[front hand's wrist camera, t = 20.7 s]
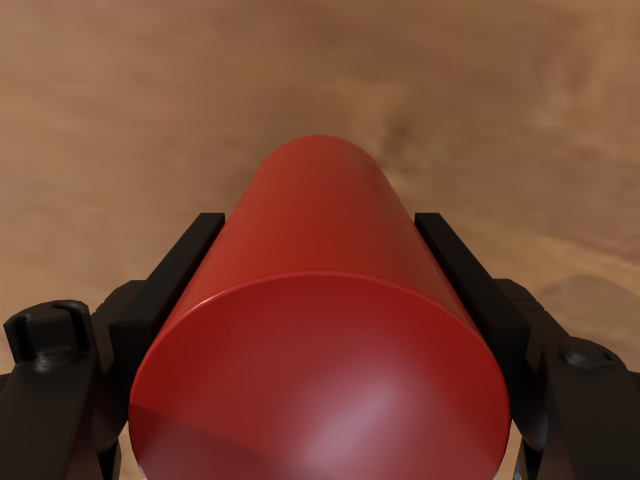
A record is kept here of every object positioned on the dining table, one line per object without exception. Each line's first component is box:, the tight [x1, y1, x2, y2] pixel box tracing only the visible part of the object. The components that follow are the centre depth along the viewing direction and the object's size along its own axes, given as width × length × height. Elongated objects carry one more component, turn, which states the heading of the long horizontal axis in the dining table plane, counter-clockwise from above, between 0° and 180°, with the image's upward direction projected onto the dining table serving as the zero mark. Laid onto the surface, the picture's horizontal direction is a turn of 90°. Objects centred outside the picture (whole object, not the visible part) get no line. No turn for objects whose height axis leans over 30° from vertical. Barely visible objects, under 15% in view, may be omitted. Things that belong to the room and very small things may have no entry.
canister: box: [128, 136, 511, 480], centre depth 13 cm, size 6×6×12 cm
